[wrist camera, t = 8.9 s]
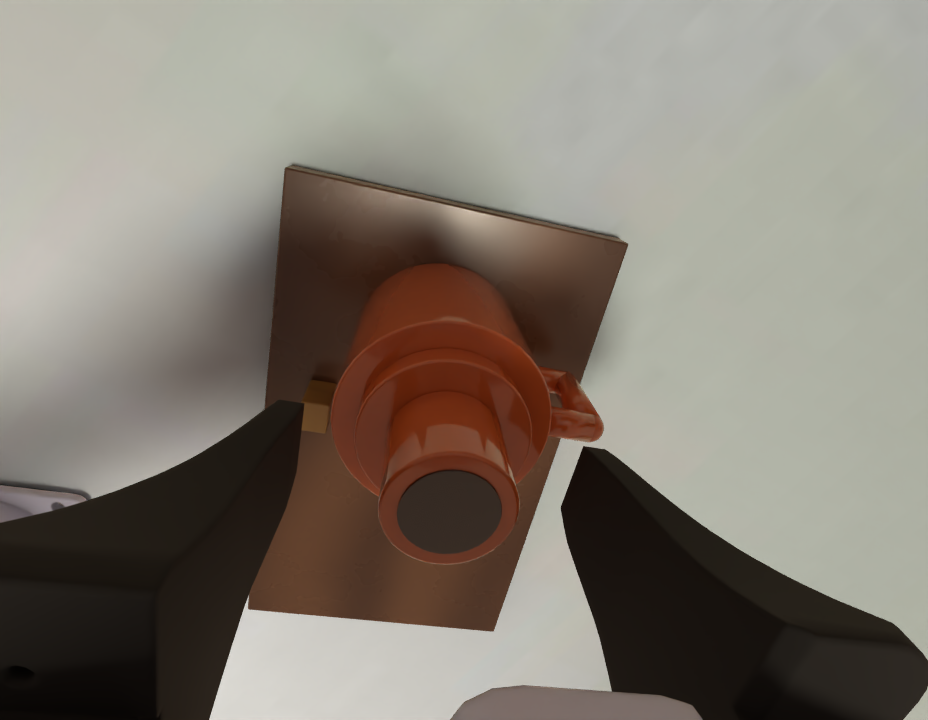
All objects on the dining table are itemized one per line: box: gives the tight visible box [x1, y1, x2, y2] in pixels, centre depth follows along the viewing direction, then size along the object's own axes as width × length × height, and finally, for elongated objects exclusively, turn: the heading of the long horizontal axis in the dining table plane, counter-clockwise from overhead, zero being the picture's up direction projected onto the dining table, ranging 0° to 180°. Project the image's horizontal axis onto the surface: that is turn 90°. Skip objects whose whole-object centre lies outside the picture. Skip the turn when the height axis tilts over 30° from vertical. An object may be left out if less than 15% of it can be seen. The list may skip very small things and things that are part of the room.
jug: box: [331, 263, 604, 565], centre depth 15 cm, size 6×8×10 cm
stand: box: [248, 165, 628, 631], centre depth 21 cm, size 12×20×3 cm, turn 167°
